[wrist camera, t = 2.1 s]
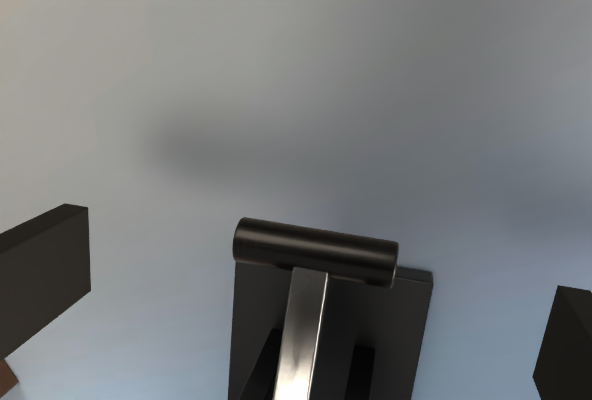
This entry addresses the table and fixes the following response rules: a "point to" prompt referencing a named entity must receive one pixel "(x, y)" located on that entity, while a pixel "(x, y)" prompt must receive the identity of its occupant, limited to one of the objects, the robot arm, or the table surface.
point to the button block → (6, 379)
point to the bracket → (331, 335)
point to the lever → (310, 285)
